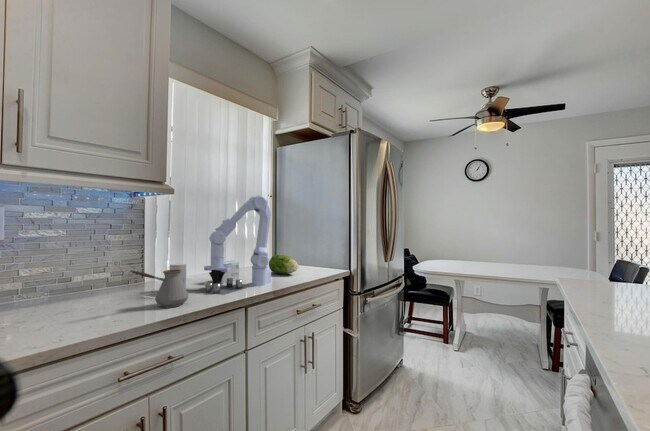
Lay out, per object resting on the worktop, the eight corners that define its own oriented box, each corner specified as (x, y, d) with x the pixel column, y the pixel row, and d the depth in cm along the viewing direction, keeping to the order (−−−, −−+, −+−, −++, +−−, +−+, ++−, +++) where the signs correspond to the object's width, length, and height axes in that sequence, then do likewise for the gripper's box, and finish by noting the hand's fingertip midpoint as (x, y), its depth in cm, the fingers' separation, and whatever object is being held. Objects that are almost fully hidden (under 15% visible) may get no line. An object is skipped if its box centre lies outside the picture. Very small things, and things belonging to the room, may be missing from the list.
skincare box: (169, 290, 143) (169, 264, 143) (176, 288, 147) (176, 263, 147) (179, 291, 141) (179, 265, 141) (186, 289, 145) (186, 264, 145)
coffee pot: (177, 299, 127) (177, 262, 127) (194, 303, 121) (195, 264, 121) (119, 312, 109) (120, 269, 109) (137, 318, 103) (138, 272, 103)
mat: (217, 285, 154) (217, 284, 154) (246, 289, 146) (246, 288, 146) (192, 292, 140) (192, 290, 140) (222, 296, 132) (222, 294, 132)
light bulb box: (231, 280, 168) (231, 260, 169) (239, 281, 165) (239, 261, 165) (214, 283, 160) (214, 262, 160) (222, 285, 156) (222, 263, 156)
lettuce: (289, 277, 177) (289, 257, 177) (265, 273, 190) (265, 255, 191) (303, 274, 186) (303, 255, 186) (279, 271, 199) (280, 253, 200)
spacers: (218, 284, 153) (218, 276, 153) (244, 287, 146) (244, 279, 146) (193, 290, 140) (193, 281, 140) (221, 294, 133) (221, 285, 133)
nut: (210, 286, 149) (210, 280, 149) (218, 287, 148) (218, 280, 148) (202, 288, 144) (202, 282, 144) (211, 289, 143) (211, 282, 143)
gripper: (198, 257, 144) (198, 287, 144) (222, 259, 137) (222, 290, 137) (210, 255, 150) (210, 284, 150) (233, 257, 144) (233, 287, 143)
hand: (217, 287), depth 144 cm, fingers closed
